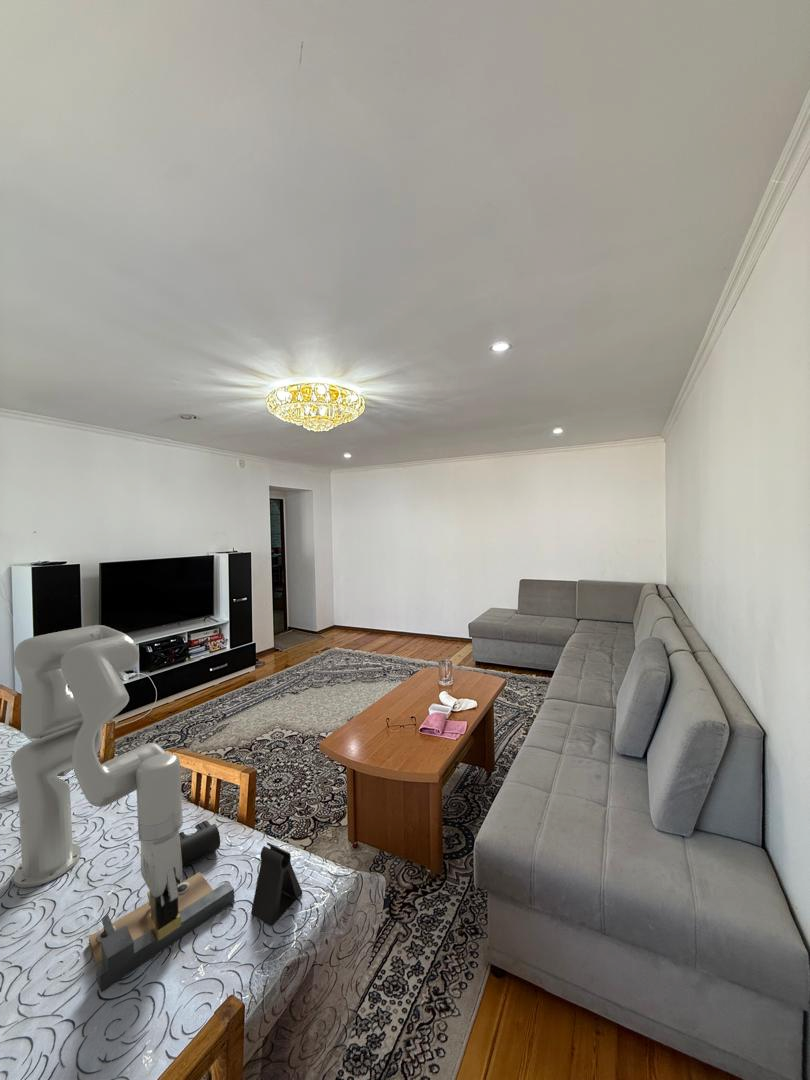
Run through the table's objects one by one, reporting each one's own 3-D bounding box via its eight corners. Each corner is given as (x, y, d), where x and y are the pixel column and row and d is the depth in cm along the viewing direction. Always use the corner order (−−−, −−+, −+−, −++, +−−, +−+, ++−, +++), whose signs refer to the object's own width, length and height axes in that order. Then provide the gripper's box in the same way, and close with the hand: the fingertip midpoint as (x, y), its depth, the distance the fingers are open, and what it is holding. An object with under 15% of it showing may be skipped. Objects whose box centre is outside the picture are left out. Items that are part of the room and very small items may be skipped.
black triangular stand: (283, 883, 96) (281, 831, 96) (302, 894, 93) (300, 840, 93) (250, 914, 88) (248, 858, 88) (270, 927, 85) (268, 869, 85)
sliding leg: (139, 909, 88) (137, 866, 88) (160, 896, 91) (159, 855, 91) (158, 946, 80) (156, 899, 80) (181, 931, 83) (179, 886, 82)
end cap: (177, 879, 98) (176, 851, 98) (168, 863, 103) (167, 836, 103) (221, 855, 105) (220, 828, 105) (210, 841, 110) (209, 815, 110)
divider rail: (87, 951, 82) (86, 920, 81) (213, 875, 99) (212, 849, 99) (102, 996, 73) (100, 963, 73) (236, 904, 91) (235, 877, 91)
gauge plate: (89, 944, 83) (88, 935, 83) (199, 878, 98) (199, 870, 98) (98, 972, 77) (97, 963, 77) (214, 897, 93) (213, 890, 93)
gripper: (127, 813, 85) (131, 902, 86) (152, 854, 74) (156, 956, 74) (167, 795, 91) (171, 879, 91) (196, 831, 80) (200, 926, 80)
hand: (164, 913), depth 83 cm, fingers closed on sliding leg, 3 cm apart
